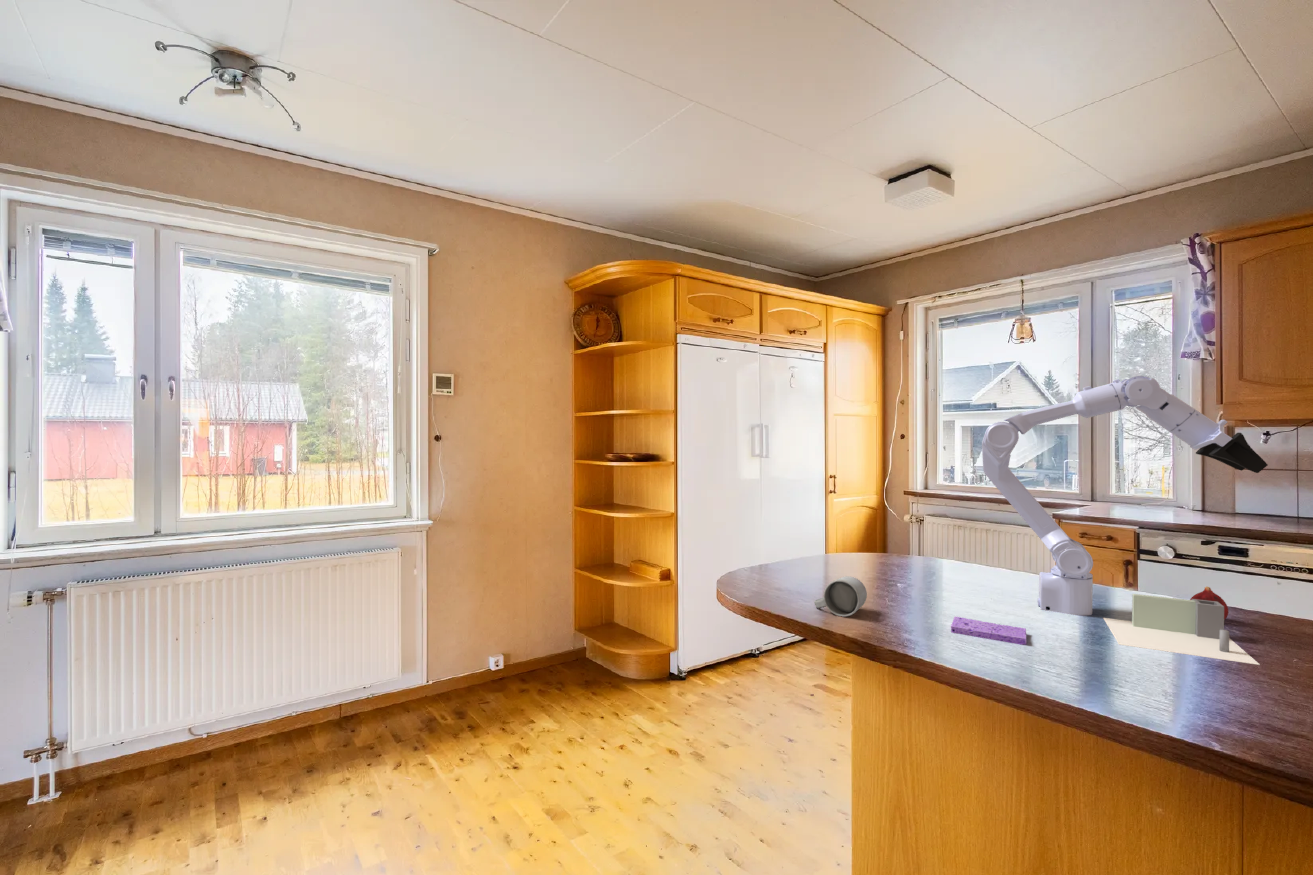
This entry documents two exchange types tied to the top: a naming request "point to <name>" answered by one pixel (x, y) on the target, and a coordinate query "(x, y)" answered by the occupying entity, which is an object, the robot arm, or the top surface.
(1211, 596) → the onion
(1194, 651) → the board
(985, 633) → the sponges
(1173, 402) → the robot arm
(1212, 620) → the door leaf
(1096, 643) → the top surface
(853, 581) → the ceramic mug
